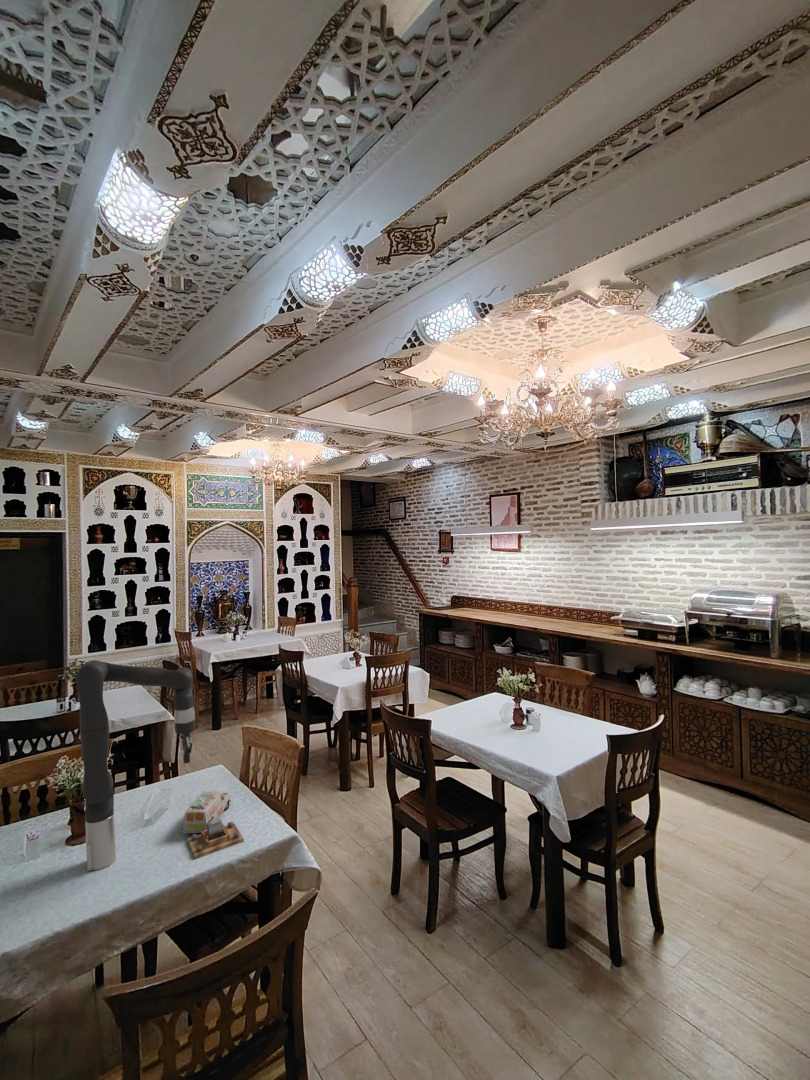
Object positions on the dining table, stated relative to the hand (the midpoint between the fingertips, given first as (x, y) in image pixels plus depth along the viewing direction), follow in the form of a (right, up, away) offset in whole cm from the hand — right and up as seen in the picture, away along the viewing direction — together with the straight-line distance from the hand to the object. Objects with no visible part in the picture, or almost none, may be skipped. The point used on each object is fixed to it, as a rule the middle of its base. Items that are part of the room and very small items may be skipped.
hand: (186, 762), depth 202 cm
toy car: (+3, -31, +15) cm, 35 cm away
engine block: (+12, -29, -1) cm, 32 cm away
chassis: (+12, -31, -1) cm, 33 cm away
